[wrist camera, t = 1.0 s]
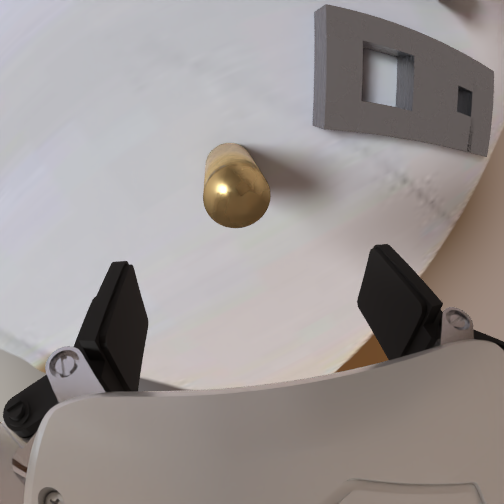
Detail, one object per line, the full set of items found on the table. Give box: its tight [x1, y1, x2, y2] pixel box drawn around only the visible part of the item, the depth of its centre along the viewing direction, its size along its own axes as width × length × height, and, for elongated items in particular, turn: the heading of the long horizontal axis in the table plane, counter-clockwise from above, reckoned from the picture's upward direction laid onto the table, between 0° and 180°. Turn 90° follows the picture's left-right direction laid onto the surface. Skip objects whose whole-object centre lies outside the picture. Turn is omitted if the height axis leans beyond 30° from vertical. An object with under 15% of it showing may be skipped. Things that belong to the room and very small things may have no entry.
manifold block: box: [313, 5, 494, 157], centre depth 22 cm, size 12×24×3 cm, turn 90°
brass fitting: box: [203, 143, 270, 228], centre depth 22 cm, size 4×4×9 cm
